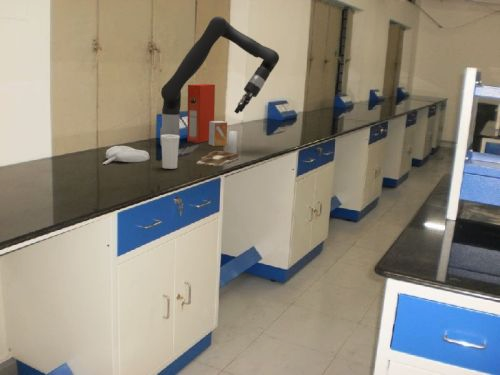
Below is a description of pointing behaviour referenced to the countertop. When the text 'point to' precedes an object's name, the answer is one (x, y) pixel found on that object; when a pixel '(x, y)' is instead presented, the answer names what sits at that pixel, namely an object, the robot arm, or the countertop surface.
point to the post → (232, 141)
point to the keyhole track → (218, 158)
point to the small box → (217, 133)
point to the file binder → (200, 111)
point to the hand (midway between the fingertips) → (237, 111)
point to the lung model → (125, 154)
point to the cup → (170, 151)
